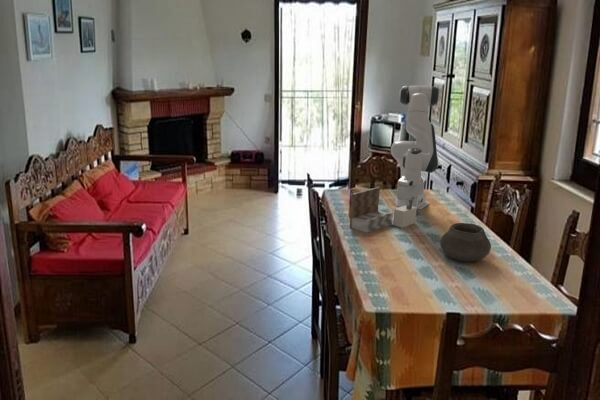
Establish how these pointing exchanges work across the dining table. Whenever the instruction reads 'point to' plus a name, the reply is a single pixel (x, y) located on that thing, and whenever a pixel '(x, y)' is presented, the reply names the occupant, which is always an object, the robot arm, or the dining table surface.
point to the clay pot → (465, 242)
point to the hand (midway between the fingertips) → (409, 205)
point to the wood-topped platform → (368, 211)
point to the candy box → (352, 190)
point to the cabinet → (405, 215)
